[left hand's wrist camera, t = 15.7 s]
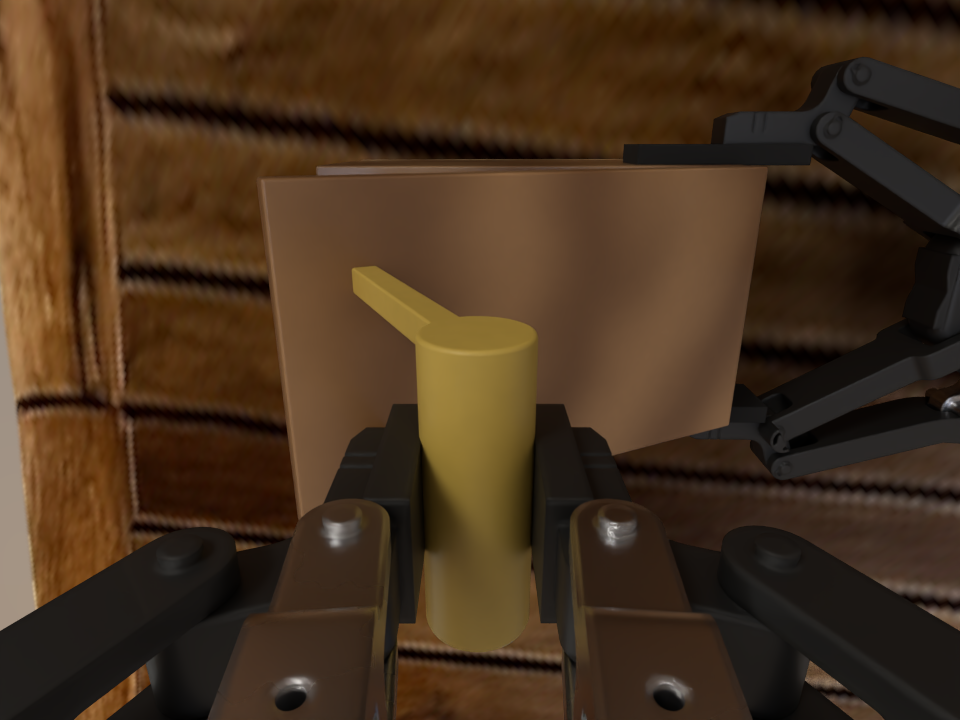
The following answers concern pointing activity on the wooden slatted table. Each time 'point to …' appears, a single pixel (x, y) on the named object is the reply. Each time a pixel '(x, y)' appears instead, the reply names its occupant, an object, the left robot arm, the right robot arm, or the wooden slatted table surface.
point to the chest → (476, 165)
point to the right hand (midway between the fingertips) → (619, 286)
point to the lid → (503, 337)
